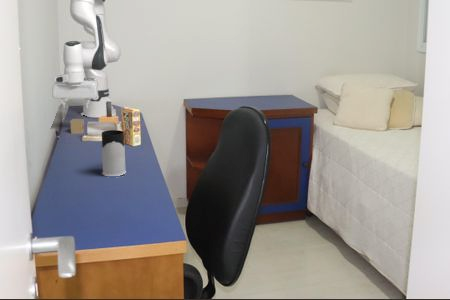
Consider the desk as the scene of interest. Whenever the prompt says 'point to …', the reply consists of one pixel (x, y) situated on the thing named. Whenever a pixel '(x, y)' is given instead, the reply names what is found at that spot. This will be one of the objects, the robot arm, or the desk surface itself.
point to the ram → (109, 115)
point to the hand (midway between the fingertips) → (76, 108)
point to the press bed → (99, 130)
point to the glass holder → (113, 153)
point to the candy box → (131, 126)
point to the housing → (77, 126)
